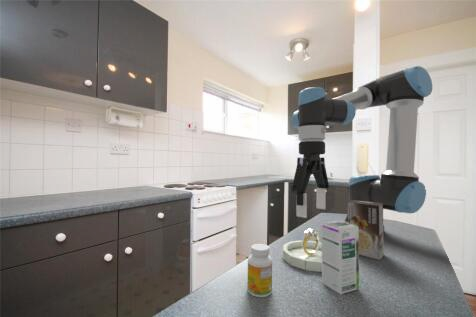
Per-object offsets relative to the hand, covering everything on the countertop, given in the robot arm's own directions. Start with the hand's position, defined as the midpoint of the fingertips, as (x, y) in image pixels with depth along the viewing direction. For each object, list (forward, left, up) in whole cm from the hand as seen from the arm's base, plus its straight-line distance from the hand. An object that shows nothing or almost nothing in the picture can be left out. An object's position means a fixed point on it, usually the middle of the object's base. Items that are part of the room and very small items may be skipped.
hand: (312, 212), depth 68 cm
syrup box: (+10, +11, -14) cm, 20 cm away
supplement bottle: (+24, -1, -14) cm, 28 cm away
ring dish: (0, 0, -14) cm, 14 cm away
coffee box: (-16, +11, -14) cm, 23 cm away
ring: (0, 0, -13) cm, 13 cm away
